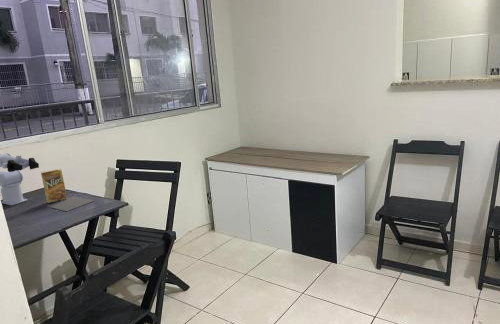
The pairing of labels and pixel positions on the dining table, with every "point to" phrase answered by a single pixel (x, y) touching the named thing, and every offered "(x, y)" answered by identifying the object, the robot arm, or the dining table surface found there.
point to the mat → (70, 203)
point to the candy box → (54, 185)
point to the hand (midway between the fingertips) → (29, 166)
